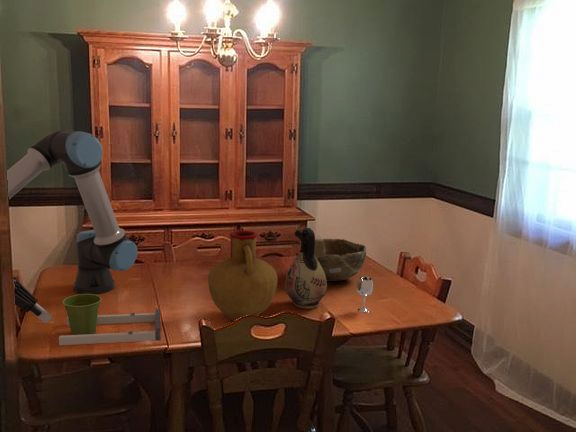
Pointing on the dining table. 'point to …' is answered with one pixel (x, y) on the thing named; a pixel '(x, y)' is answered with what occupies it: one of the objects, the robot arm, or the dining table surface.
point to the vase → (242, 279)
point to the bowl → (339, 258)
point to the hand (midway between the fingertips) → (49, 319)
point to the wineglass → (364, 290)
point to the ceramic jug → (306, 274)
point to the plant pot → (82, 313)
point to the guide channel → (117, 337)
